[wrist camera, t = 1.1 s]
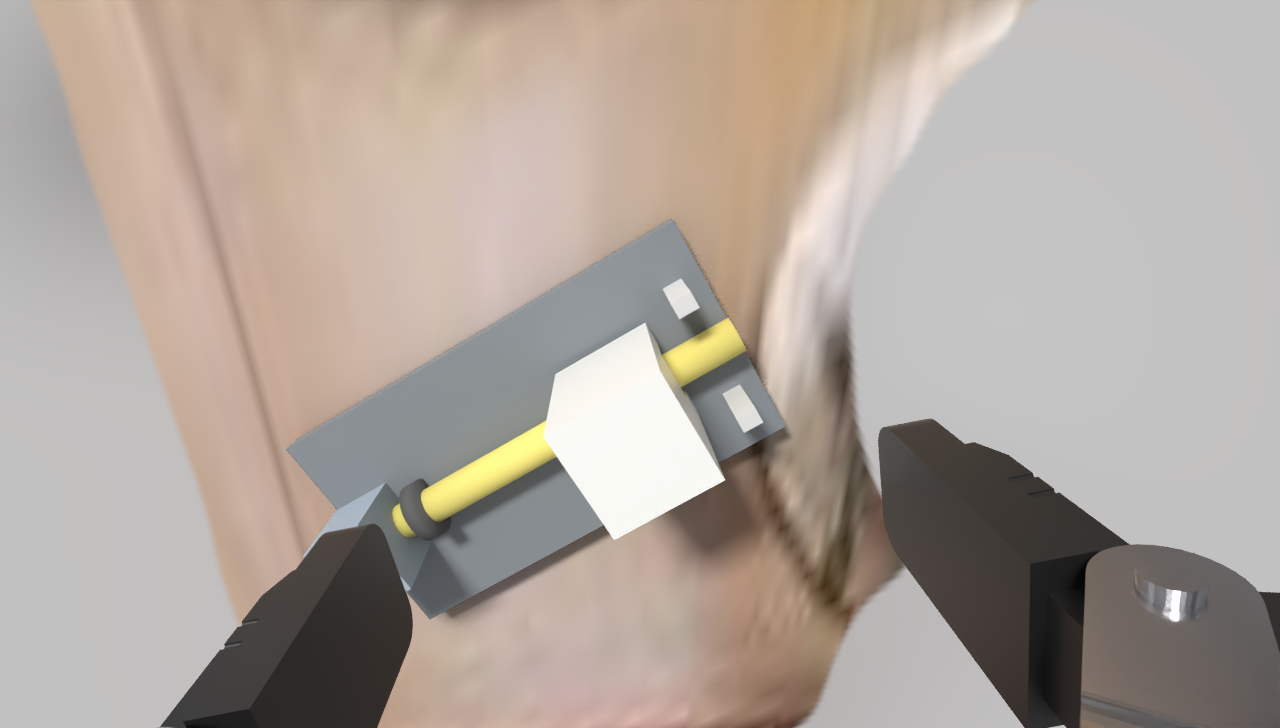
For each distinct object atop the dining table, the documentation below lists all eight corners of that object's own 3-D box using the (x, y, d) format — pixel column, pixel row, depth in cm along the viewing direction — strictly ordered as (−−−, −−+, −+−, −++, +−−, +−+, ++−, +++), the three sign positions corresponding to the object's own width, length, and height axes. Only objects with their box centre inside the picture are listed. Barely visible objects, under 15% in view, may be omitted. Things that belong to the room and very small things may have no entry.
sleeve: (645, 322, 30) (660, 371, 23) (696, 409, 32) (725, 480, 25) (555, 374, 31) (543, 436, 24) (610, 457, 32) (614, 539, 25)
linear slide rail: (671, 218, 30) (685, 229, 25) (779, 417, 34) (810, 461, 29) (296, 439, 32) (242, 488, 27) (435, 605, 36) (409, 675, 31)
